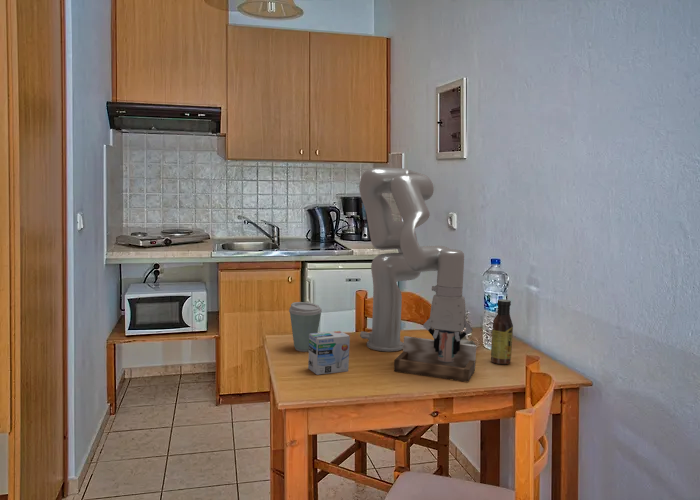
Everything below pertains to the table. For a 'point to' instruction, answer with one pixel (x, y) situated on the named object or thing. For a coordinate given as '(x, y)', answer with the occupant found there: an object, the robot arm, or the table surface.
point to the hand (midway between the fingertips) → (446, 351)
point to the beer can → (446, 346)
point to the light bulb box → (328, 352)
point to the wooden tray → (435, 360)
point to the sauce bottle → (502, 334)
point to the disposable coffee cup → (304, 323)
